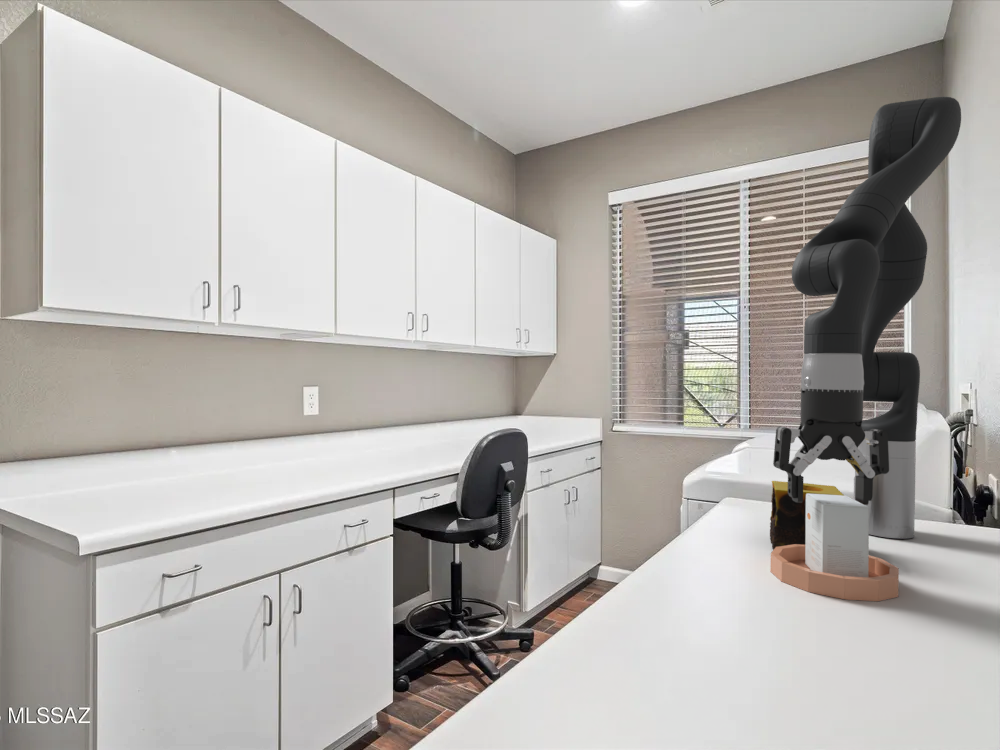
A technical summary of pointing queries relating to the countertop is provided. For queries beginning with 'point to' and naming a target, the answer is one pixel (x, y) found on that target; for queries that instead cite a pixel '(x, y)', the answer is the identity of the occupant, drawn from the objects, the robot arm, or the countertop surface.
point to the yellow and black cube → (791, 513)
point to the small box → (837, 535)
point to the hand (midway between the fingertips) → (829, 502)
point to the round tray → (835, 577)
